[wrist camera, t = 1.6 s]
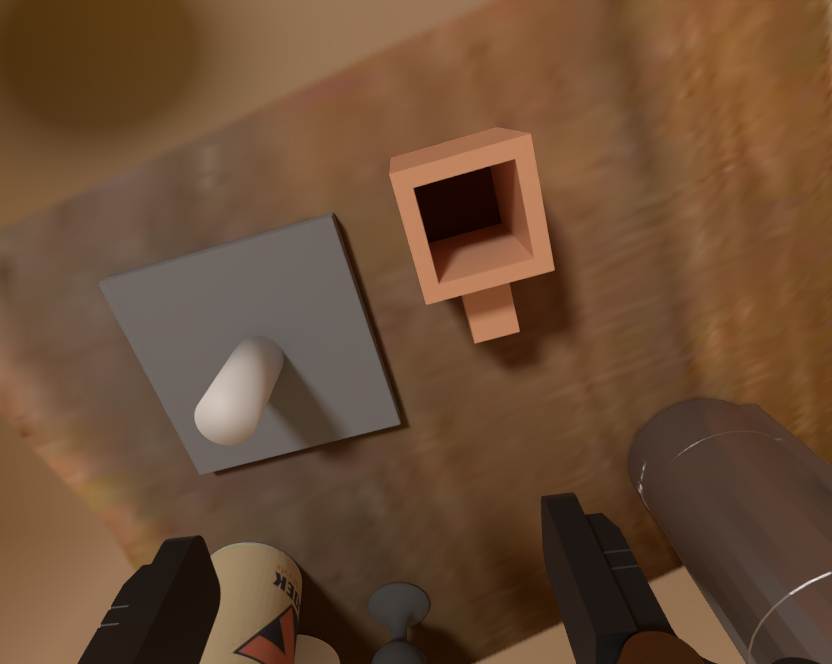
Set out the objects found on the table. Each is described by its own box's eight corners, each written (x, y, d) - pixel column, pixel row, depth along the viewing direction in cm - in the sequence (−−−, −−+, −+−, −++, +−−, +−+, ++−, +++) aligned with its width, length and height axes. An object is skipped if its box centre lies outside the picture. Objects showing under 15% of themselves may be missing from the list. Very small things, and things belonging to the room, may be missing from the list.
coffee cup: (324, 615, 43) (299, 791, 32) (209, 629, 43) (145, 809, 32) (299, 525, 39) (262, 688, 28) (174, 541, 40) (88, 709, 28)
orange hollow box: (496, 127, 29) (530, 133, 22) (528, 288, 33) (567, 340, 25) (390, 157, 30) (389, 174, 22) (434, 313, 33) (445, 372, 26)
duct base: (333, 212, 31) (313, 246, 23) (400, 414, 36) (401, 496, 28) (108, 276, 32) (17, 329, 24) (205, 464, 37) (156, 555, 29)
